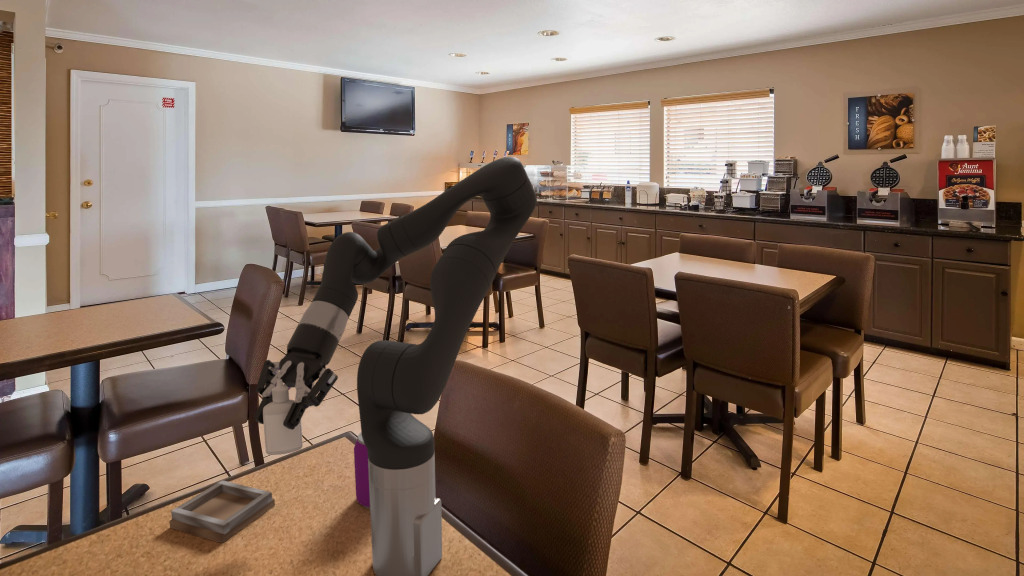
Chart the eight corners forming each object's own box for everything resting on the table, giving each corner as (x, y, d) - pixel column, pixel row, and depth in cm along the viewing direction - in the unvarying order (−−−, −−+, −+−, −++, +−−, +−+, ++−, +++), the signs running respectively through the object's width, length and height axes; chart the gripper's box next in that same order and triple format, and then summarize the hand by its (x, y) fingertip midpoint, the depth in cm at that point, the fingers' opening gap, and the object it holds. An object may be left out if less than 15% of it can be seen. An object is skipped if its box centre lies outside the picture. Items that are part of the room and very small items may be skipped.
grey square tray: (274, 505, 97) (273, 490, 96) (222, 543, 87) (220, 527, 86) (225, 492, 100) (224, 478, 100) (170, 527, 90) (168, 512, 90)
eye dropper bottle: (294, 457, 90) (289, 385, 88) (261, 455, 90) (255, 384, 88) (307, 444, 94) (302, 376, 92) (275, 442, 95) (269, 374, 92)
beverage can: (386, 482, 104) (384, 421, 102) (409, 499, 99) (407, 435, 97) (348, 498, 99) (344, 434, 97) (370, 517, 94) (367, 450, 91)
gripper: (363, 348, 99) (322, 440, 90) (296, 339, 104) (251, 427, 95) (343, 325, 93) (297, 422, 84) (273, 318, 98) (223, 409, 89)
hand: (273, 424), depth 90 cm, fingers closed on eye dropper bottle, 5 cm apart
